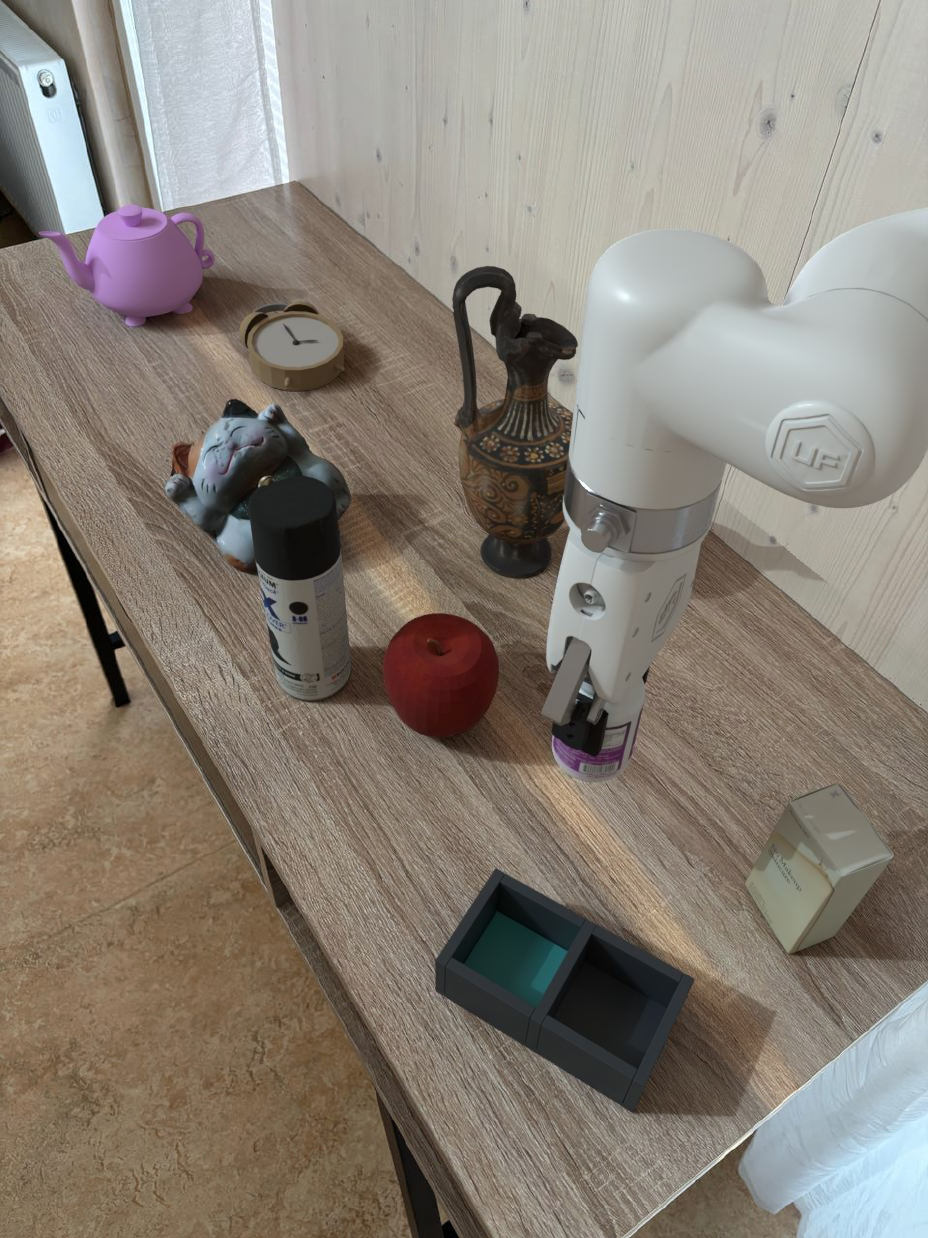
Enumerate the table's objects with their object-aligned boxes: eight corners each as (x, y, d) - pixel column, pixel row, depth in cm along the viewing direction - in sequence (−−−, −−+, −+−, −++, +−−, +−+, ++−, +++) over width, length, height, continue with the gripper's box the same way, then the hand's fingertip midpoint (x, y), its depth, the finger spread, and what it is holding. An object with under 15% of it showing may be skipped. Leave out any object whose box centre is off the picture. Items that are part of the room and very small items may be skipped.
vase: (574, 595, 97) (615, 314, 74) (445, 589, 97) (447, 307, 75) (572, 514, 105) (608, 237, 82) (452, 508, 105) (456, 231, 83)
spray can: (267, 657, 91) (234, 485, 76) (339, 635, 93) (321, 464, 78) (288, 712, 87) (258, 542, 72) (363, 688, 89) (349, 518, 74)
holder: (681, 1008, 70) (695, 978, 67) (632, 1113, 66) (644, 1087, 62) (492, 901, 75) (495, 867, 72) (434, 991, 71) (435, 960, 67)
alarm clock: (269, 382, 114) (220, 298, 121) (272, 413, 118) (224, 331, 125) (360, 356, 118) (308, 276, 124) (359, 387, 122) (309, 308, 128)
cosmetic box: (742, 884, 77) (783, 798, 68) (791, 865, 78) (838, 777, 69) (789, 959, 73) (839, 878, 64) (841, 937, 74) (897, 855, 65)
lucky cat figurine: (245, 600, 95) (157, 481, 88) (215, 562, 105) (135, 452, 98) (373, 509, 98) (299, 386, 90) (333, 480, 108) (263, 368, 100)
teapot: (82, 353, 122) (53, 256, 113) (51, 298, 130) (21, 203, 121) (238, 311, 129) (223, 216, 120) (199, 261, 137) (182, 169, 128)
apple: (473, 660, 91) (476, 583, 84) (513, 743, 85) (520, 667, 78) (372, 688, 89) (366, 611, 81) (406, 775, 83) (403, 700, 75)
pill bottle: (578, 707, 70) (594, 611, 63) (645, 745, 68) (669, 651, 61) (534, 758, 67) (545, 664, 60) (603, 800, 65) (623, 708, 58)
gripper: (632, 626, 44) (588, 839, 58) (774, 426, 54) (708, 648, 67) (486, 560, 47) (476, 779, 60) (646, 381, 57) (607, 603, 70)
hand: (599, 708), depth 64 cm, fingers closed on pill bottle, 5 cm apart
